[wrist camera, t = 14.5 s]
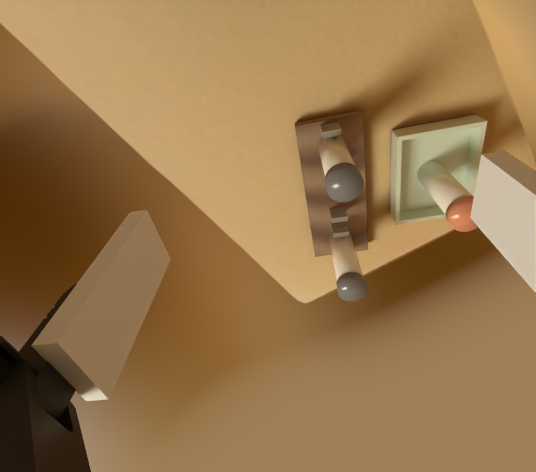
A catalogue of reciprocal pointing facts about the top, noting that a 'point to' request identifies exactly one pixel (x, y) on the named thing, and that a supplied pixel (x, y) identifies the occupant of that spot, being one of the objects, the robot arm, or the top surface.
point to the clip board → (318, 201)
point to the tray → (432, 149)
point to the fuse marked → (448, 195)
